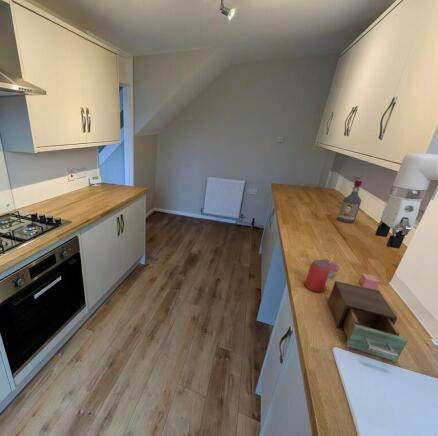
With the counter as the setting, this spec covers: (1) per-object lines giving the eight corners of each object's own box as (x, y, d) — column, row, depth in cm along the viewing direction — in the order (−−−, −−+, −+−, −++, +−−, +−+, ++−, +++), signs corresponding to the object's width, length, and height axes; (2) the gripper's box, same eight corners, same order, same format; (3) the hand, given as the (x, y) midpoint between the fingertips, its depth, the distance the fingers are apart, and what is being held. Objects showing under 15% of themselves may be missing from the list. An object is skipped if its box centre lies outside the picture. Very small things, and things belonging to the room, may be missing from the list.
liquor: (340, 217, 182) (352, 179, 172) (354, 221, 176) (368, 181, 165) (336, 220, 177) (348, 180, 166) (351, 224, 170) (365, 183, 160)
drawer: (404, 374, 63) (416, 353, 61) (351, 357, 68) (359, 337, 65) (378, 328, 78) (387, 309, 76) (336, 316, 83) (343, 298, 80)
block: (372, 284, 102) (375, 276, 101) (375, 290, 99) (379, 281, 97) (359, 282, 104) (362, 273, 103) (362, 287, 101) (366, 278, 99)
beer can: (304, 281, 104) (311, 257, 100) (322, 286, 101) (330, 261, 97) (304, 289, 99) (312, 264, 95) (323, 294, 96) (332, 269, 91)
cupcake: (339, 281, 104) (348, 257, 100) (318, 278, 106) (325, 255, 102) (330, 270, 112) (337, 248, 108) (310, 268, 114) (317, 246, 110)
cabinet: (385, 341, 74) (397, 317, 71) (337, 327, 80) (345, 304, 76) (369, 312, 87) (378, 290, 83) (328, 301, 92) (335, 280, 89)
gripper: (439, 201, 67) (413, 255, 73) (409, 189, 81) (389, 234, 87) (403, 198, 70) (382, 249, 76) (380, 186, 84) (364, 230, 90)
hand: (386, 241), depth 82 cm, fingers open, 9 cm apart
